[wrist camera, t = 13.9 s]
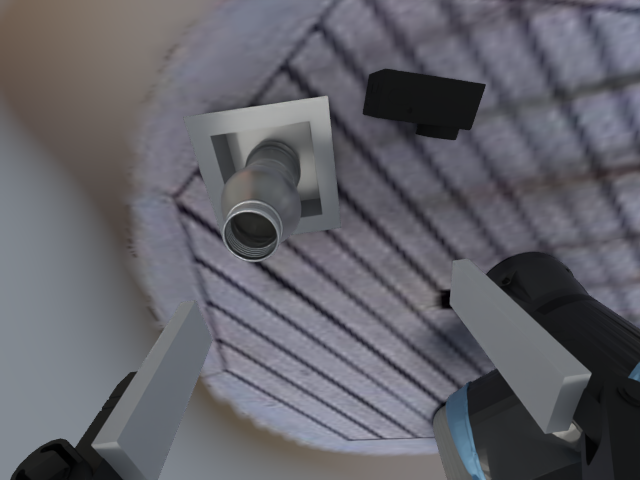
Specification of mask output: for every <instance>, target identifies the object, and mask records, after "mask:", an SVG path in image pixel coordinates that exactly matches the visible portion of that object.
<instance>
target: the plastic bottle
mask: <svg viewBox="0 0 640 480" xmlns="http://www.w3.org/2000/svg"><path fill="white" fill-rule="evenodd" d="M300 177H301V168H300V163H299V161H298V158H297V157H296V155H295V154H294V152H293V151H292V150H291V149H290V148H288V147H287V146H286V145H284V144H282V143H279V142H273V141H269V142H263V143H261V144H259V145H257V146H256V147H254V148H253V149H252V150H251V152H250V153H249V155H248V157H247V160H246V165H245V168H242V169H241V170H239V171H238V172H236V173H235V174H234V175H232V177H231V178H230V179H229V180H228V181H227V182H226V184H225V186H224V187H223V190H222V194H221V201H220V203H221V213H222V217H223V220H224V225H223V230H222V236H223V241H224V244H225V245H226V247H227V249H228V250H229V251H230V252H231V253H232V254H233V255H234V256H236V257H237V258H239V259H242V260H244V261H249V262H259V261H263V260H266V259H267V258H269V257H271V256H272V255H273V254H274V253H275V251H276V250H277V248H278V246H279V243H281V242H283V241H285V240H286V239H287V238H288V237H289V236H290V235H291V234H292V233H293V231H294V230H295V229H296V228H297V225H298V223H299V221H300V217H301V201H300V196H299V193H298V191H297V186H298V183H299V181H300Z"/></svg>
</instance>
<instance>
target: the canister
mask: <svg viewBox="0 0 640 480" xmlns="http://www.w3.org/2000/svg"><path fill="white" fill-rule="evenodd" d="M433 430H434V435H435V439H436V443H437V446H438V450H439V454H440V457H441V460H442V464H443V467H444V470H445V474H446V477H447V480H473V479H472V476H471V474H470V473H468V471H467V470H466V468H465V466H464V464H463V462H462V460H461V458H460V455H459V453H458V451H457V448H456V446H455V444H454V441H453V438H452V435H451V432H450V429H449V426H448V422H447V417H446V405H445V406H443V407H442V408H441V409H439V411H438V412H437V413H436V414H435V417H434V420H433Z"/></svg>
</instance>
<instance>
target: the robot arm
mask: <svg viewBox="0 0 640 480" xmlns="http://www.w3.org/2000/svg"><path fill="white" fill-rule="evenodd" d="M450 305H451V307H452V308H453V309H454V311H455V312H456V313H457V315H458V316H459V318H460V319H461V320H462V322H463V323H464V324H465V326H466V327H467V328H468V330H469V331H470V332H471V334H472V335H473V337H474V338H475V339H476V341H477V342H478V343H479V345H480V346H481V347H482V349H483V350H484V352H485V353H486V354H487V356H488V357H489V358H490V360H491V361H492V362H493V364H494V365H495V367H496V369H495V370H493V371H491V372H489V373H487V374H486V375H484V376H482V377H480V378H478V379H476V380H475V381H473V382H471V381H470V382H468V383H466V385H465V386H464V387H462V388H461V389H459V390H458V391H456V392H455V393H453V394H451V395H450V396H449V398H448V399H447V402H446V417H447V422H448V426H449V429H450V432H451V435H452V438H453V441H454V444H455V446H456V448H457V451H458V453H459V455H460V458H461V460H462V462H463V464H464V466H465V468H466V470H467V471H468V473H470V474H471V476H472V479H473V480H640V329H639V328H637V327H636V326H634V325H633V324H631V323H630V322H628V321H627V320H625V319H624V318H622V317H621V316H619V315H618V314H616V313H615V312H613V311H612V310H610V309H609V308H607V307H606V306H604V305H603V304H601V303H600V302H598V301H597V300H595V299H594V298H593V297H591V296H590V295H589V294H588V293H587V292H586V290H585V289H584V288H583V287H582V285H581V284H580V283H579V282H578V281H577V280H576V279H575V278H574V276H573V274H572V272H571V271H570V269H569V268H568V267H567V266H566V265H564V264H563V263H562V262H560V261H558V260H557V259H555V258H554V257H552V256H550V255H548V254H544V253H538V252H532V253H524V254H520V255H517V256H514V257H511V258H509V259H507V260H505V261H503V262H502V263H500V264H499V265H497V266H496V267H495V268H493V269H492V270H491V271H490V272H489V273H488V274H487V275H485V274H484V273H483V272H482V271H481V270H480V269H479V268H478V267H477V266H476V265H475V264H474V263H472V262H471V261H470V260H469V259H461V260H455V261H453V266H452V280H451V294H450ZM212 341H213V339H212V336H211V334H210V332H209V329H208V327H207V325H206V322H205V320H204V318H203V315H202V313H201V311H200V308H199V306H198V304H197V301H196V300H193V301H187V302H181V303H180V305H179V307H178V308H177V310H176V311H175V313H174V315H173V316H172V318H171V319H170V321H169V322H168V324H167V326H166V327H165V329H164V330H163V332H162V334H161V335H160V337H159V338H158V340H157V341H156V343H155V345H154V346H153V348H152V349H151V351H150V353H149V354H148V356H147V357H146V359H145V360H144V362H143V364H142V365H141V367H140V368H139V370H138V371H137V372H130V373H129V374H128V375H127V376H126V377H125V378H124V379H123V380H122V381H121V382H120V383H119V384H118V385H117V386H116V388H115V389H114V391H113V392H112V394H111V395H110V397H109V400H107V401H106V403H105V404H104V406H103V407H102V411H100V412H99V413H98V415H97V416H96V418H95V419H94V421H93V422H92V424H91V425H90V426H89V428H88V430H87V431H86V432H85V434H84V435H83V437H82V438H81V440H80V441H79V443H78V444H77V446H76V447H75V448H74V447H73V446H72V445H71V444H70V443H69V442H68V441H67V440H65V439H56V440H53V441H50V442H48V443H46V444H44V445H42V446H41V447H39V448H38V449H36V450H35V451H34V452H32V453H31V454H30V455H29V456H28V457H27V458H26V459H25V460H24V461H23V462H22V463H21V464H20V465H19V466H18V468H17V469H16V471H15V472H14V473H13V475H12V477H11V479H10V480H158V478H159V475H160V473H161V470H162V468H163V465H164V462H165V460H166V458H167V455H168V452H169V450H170V447H171V445H172V442H173V440H174V437H175V434H176V432H177V430H178V427H179V424H180V422H181V419H182V417H183V414H184V412H185V409H186V407H187V404H188V402H189V399H190V397H191V394H192V392H193V389H194V386H195V384H196V381H197V379H198V376H199V374H200V371H201V369H202V366H203V364H204V361H205V359H206V356H207V354H208V351H209V348H210V346H211V343H212Z"/></svg>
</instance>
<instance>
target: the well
mask: <svg viewBox="0 0 640 480" xmlns="http://www.w3.org/2000/svg"><path fill="white" fill-rule="evenodd" d="M183 119H184V122H185V125H186V128H187V131H188V134H189V137H190V140H191V143H192V146H193V149H194V152H195V156H196V159H197V162H198V165H199V168H200V171H201V174H202V177H203V180H204V183H205V186H206V189H207V192H208V195H209V198H210V201H211V205H212V208H213V211H214V214H215V217H216V220H217V223H218V226H219V229H220V232H221V235H222V230H223V225H224V220H223V217H222V213H221V203H220V201H221V194H222V190H223V187H224V186H225V184H226V182H227V181H228V180H229V179H230V178H231V177H232V175H234V174H235V173H236V172H238V171H239V170H241V169H242V168H245V165H246V160H247V157H248V155H249V153H250V152H251V150H252V149H253V148H254V147H256V146H257V145H259V144H261V143H263V142H269V141H273V142H279V143H282V144H284V145H286V146H287V147H288V148H290V149H291V150H292V151H293V152H294V154H295V155H296V157H297V158H298V161H299V163H300V168H301V177H300V181H299V183H298V186H297V191H298V193H299V196H300V201H301V217H300V221H299V223H298V225H297V228H296V229H295V230H294V231H293V233H292V234H291V235H294V234H301V233H308V232H315V231H322V230H329V229H335V228H341V219H340V210H339V200H338V190H337V181H336V171H335V162H334V152H333V142H332V133H331V123H330V114H329V104H328V96H323V97H316V98H309V99H302V100H295V101H289V102H282V103H275V104H268V105H261V106H254V107H248V108H241V109H234V110H227V111H220V112H213V113H207V114H200V115H193V116H186V117H183ZM222 238H223V236H222Z"/></svg>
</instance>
